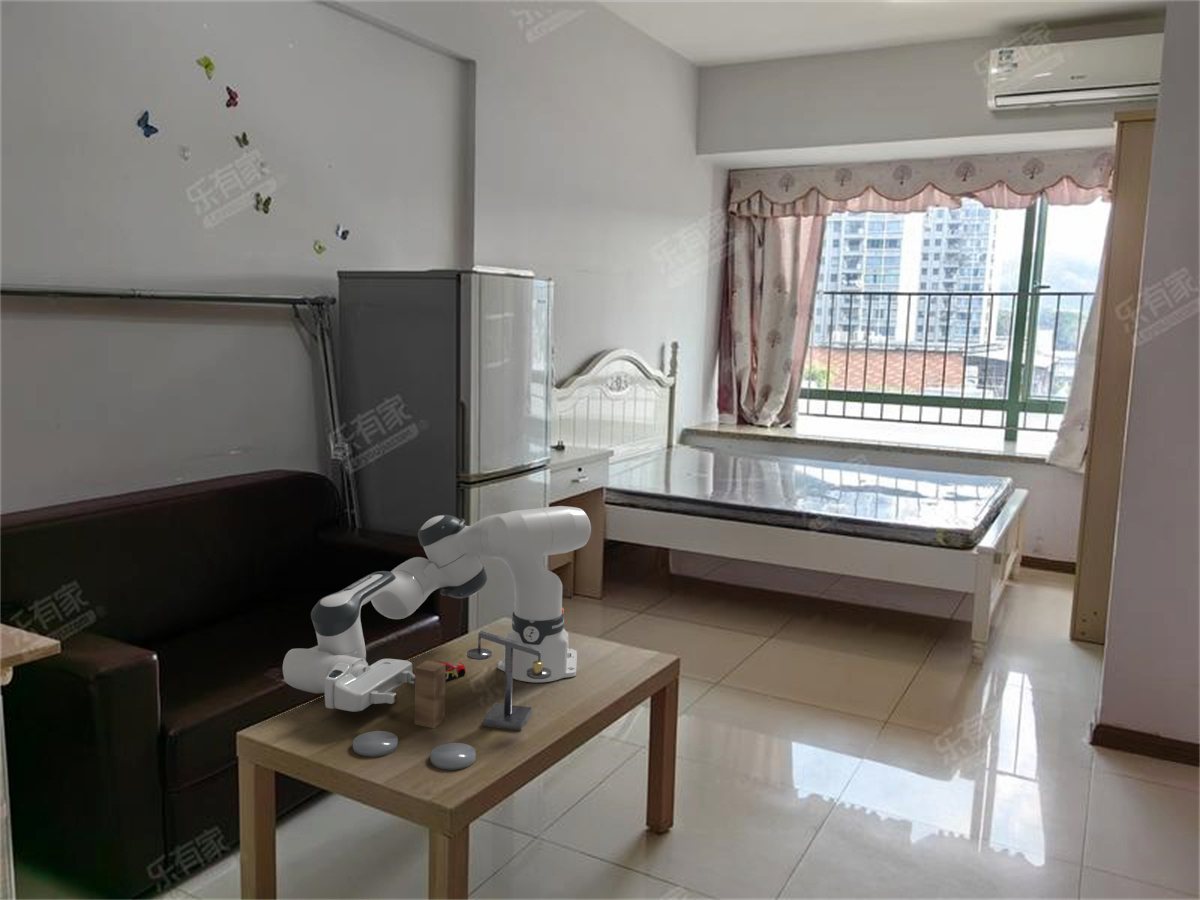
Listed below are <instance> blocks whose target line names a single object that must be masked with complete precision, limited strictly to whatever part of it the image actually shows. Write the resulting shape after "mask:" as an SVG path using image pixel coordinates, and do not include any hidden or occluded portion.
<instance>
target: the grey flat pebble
mask: <svg viewBox="0 0 1200 900" xmlns="http://www.w3.org/2000/svg"><path fill="white" fill-rule="evenodd" d="M476 751H477V750H476V749H475V748H474V747H473V746H472V745H469V744H467V743H461V742H449V743H443V744H440V745H437V746H436V747H434V748H433V749H432V750H431V751H430V754H429V755H430V759H429V760H430V763H431V765H432V766H434V767H435V768H437V769H440V770H445V771H446V770H447V771H455V770H462V769H465V768H468V767H470V766H471V765H473V764H475V762H476V758H477V757H476V755H477V752H476Z"/></svg>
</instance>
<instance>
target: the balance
mask: <svg viewBox="0 0 1200 900" xmlns="http://www.w3.org/2000/svg"><path fill="white" fill-rule="evenodd" d="M477 636H478V638H477V642H478V644H477V648H476V647H475V648H471V649H469V650H468V651H467V652H466V657H467V658H468V659H471V660H476V661H480V660H481V661H483V660H487V659H490V658H491V657H492V651H491V650H490V649H488V648H483V647H482V646H481V644H482V639H483V640H486V641H490V642H492V643H496V644H499V645H502V646H504V653H505V671H504V693H503V694H504V696H503V697H504V698H503V700H504V702H503V703H495V702H494V704H493V705H492V706H491V708H490V709H489V711H488V712H487V713H486V715H484V717H483V721H482V724H483V725H482V726H483V727H490V728H496V729H504V728H508V729H507V730H513V729H516V730H515V731H522V730H523V729H522V728H524V727H525V726H526V724H527V722H528V721H529V719H530V718H531V716H532V715H533V714H532V712H533V708H532V707H531V706H521V705H514V704H513V683H514V682H513V679H514V678H513V648H514V649H518V650H521V651H524V652H527V653H530V654H533V655H537V656H538V661H534V662H533V668H530V669H528V670H527V676H528V677H530V678H533V679H545V678H548V677H550V676H551V670H550V669H548V668H544V667H543V662H542V661H541V652H540V651H541V649H538V648H535V647H531V646H528V645H525V644H522V643H519V642H515V641H512V640H509V639H506V637H503V636H499V635H496V634H493V633H489V632H487V631H484V630H480V631H479V633H478V635H477ZM529 717H530V718H529ZM527 720H528V721H527ZM525 723H526V724H525ZM523 726H524V727H523ZM498 727H499V728H498Z"/></svg>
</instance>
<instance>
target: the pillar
mask: <svg viewBox="0 0 1200 900" xmlns="http://www.w3.org/2000/svg"><path fill="white" fill-rule="evenodd" d="M445 665H446V664H443V663H438V662H436V661H432V660H424V661H423V662H422V663H420V664H419V665H417V666H415V667H414V673H415V686H414V725H417V726H421V727H425V728H431V729H435V728H436V727H438V726H439V725H440V724H441V723H443V722H444V721H446V720H445V719H446V681H445Z"/></svg>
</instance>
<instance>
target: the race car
mask: <svg viewBox="0 0 1200 900" xmlns="http://www.w3.org/2000/svg"><path fill="white" fill-rule="evenodd" d="M435 662H438V663H443V664H446V665H445V682H448V681H450V680H451V681H452V680H453V679H456V678H461V677H464V676H465V675H466V666H465V665H464V664H463V663H462V662H458V661H448V662H445V661H439V660H438V661H435ZM413 674H414V675H415V672H414V673H413Z"/></svg>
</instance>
